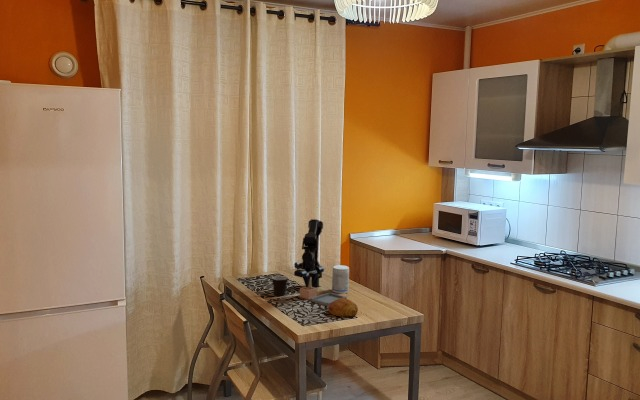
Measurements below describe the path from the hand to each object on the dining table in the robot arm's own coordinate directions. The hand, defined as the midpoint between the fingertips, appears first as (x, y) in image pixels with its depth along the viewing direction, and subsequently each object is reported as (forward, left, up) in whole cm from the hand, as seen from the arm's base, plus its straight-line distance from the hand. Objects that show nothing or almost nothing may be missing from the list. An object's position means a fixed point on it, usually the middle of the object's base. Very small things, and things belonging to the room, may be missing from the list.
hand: (308, 286), depth 280 cm
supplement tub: (-22, +5, -7) cm, 24 cm away
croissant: (+6, +28, -7) cm, 30 cm away
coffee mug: (+7, -15, -7) cm, 18 cm away
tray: (-3, +12, -6) cm, 14 cm away
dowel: (0, 0, -6) cm, 6 cm away
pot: (0, 0, -6) cm, 6 cm away
